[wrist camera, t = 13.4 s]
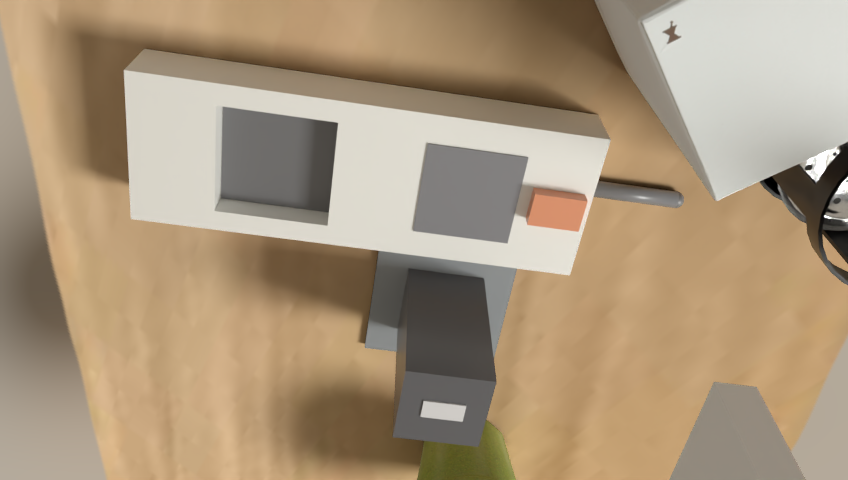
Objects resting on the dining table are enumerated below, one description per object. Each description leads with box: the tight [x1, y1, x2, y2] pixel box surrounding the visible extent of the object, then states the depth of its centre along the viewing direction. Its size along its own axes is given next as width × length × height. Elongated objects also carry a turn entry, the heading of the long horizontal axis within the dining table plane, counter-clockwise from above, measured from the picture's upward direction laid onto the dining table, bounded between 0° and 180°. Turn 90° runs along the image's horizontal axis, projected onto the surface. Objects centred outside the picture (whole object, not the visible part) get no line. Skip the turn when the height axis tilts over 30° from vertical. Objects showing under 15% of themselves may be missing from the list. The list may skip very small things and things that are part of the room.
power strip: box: [124, 49, 684, 275], centre depth 45 cm, size 9×32×4 cm, turn 81°
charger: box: [393, 268, 496, 447], centre depth 48 cm, size 5×5×10 cm
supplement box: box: [594, 0, 848, 201], centre depth 35 cm, size 9×9×15 cm
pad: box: [365, 251, 517, 357], centre depth 53 cm, size 9×9×1 cm
